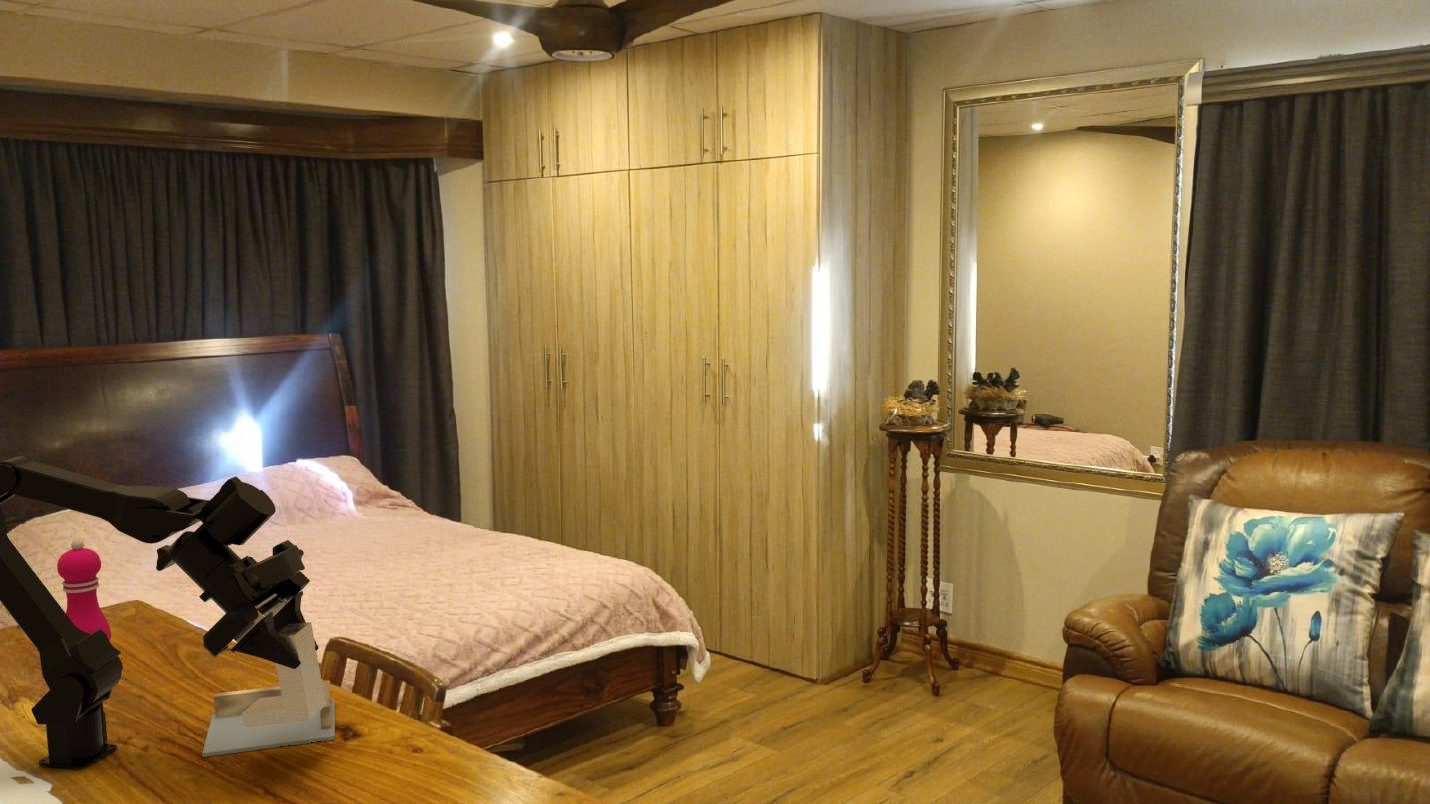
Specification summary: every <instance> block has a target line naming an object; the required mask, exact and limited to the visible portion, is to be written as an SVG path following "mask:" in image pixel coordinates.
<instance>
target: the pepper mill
mask: <svg viewBox="0 0 1430 804" xmlns="http://www.w3.org/2000/svg"><path fill="white" fill-rule="evenodd" d="M70 545H71V548H72V549H69V550H67V551H65V552H64V553H62V554H61V555H60V557H59V558H58V561H57V565H56V568H57V569H56V570H57V574H58V575H59V577H61V578H62V579H63V581H62V582H61V584H62V591H63V592H64V593H65V594H66V611H65V613H66V614H67V616H68V617H69V618H70V620H71V621H72V622H73V623H74V625H75V626H76V627H77V628H79V629H81V630H83V631H85V632H87V633H89V634H92V633H94V632H95V631H97V630H99V629H101V630H102V631H103V632H104V633H105V634H106V636H107V638H108V639H109V641H111V638H112V629H111V625H110V624H109V622H108V619H107V618H106V616H105V614H104V613H103V611H102V609H101V607H100V605H99V604H100V603H99V599H98V595H97V591H98V590H97V589H98V588H99V587H100V583H99V580H100V579H99V577H97V575H98V574H99V572H100V571H101V569H102V568H101V567H102V560H101V558H100V557H101V556H100V555H99V554H98V553H97V552H96V551H95V550H93V549H92V548H87V547H85V542H84V541H83V540H82V539H81V538H76V539H73V540H72V542H71V543H70Z"/></svg>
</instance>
